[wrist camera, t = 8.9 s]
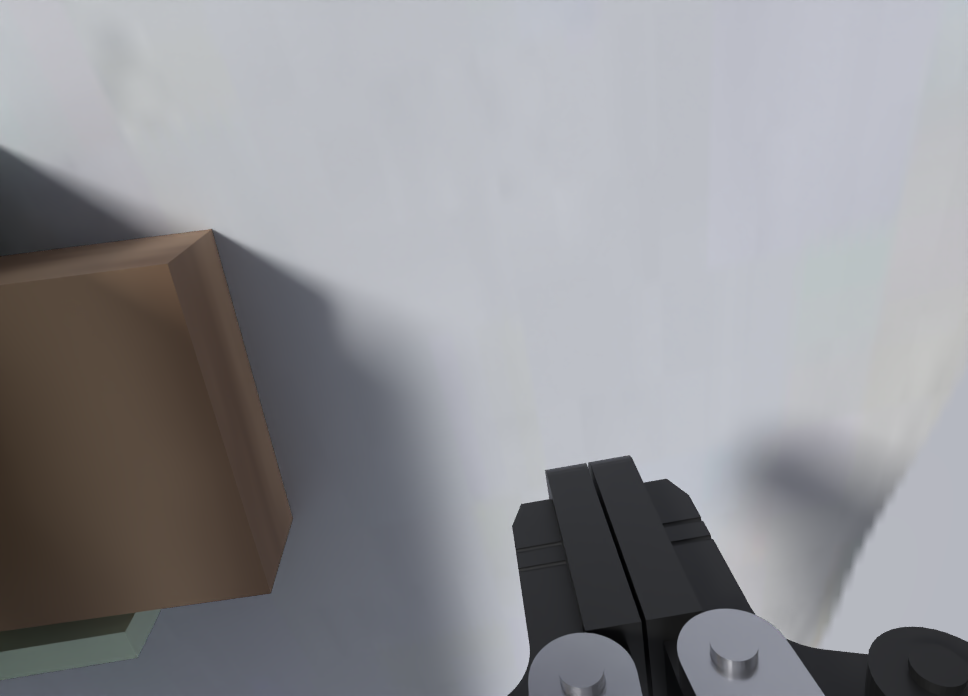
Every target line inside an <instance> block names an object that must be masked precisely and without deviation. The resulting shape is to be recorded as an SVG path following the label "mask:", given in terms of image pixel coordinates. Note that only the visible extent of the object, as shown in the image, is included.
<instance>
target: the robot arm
mask: <svg viewBox="0 0 968 696" xmlns="http://www.w3.org/2000/svg"><path fill="white" fill-rule="evenodd" d="M545 473H546V480H547V487H548V493H549V499H548V500H543V501H537V502H531V503H525V504H521V506H520V509H519V511H518V513H517V516H516V518H515V521H514V523H513V525H512V528H513V534H514V541H515V548H516V555H517V562H518V569H519V576H520V582H521V589H522V596H523V603H524V610H525V617H526V624H527V631H528V637H529V644H530V658H529V664H528V667H527V670H526V672H525V674H524V676H523V678H522V680H521V681H520V683H519V684H518V685H517V687H516V688H515V689H514V690H513V691H512V692H511V693H510V694H509V695H508V696H968V642H966V641H964V640H962V639H960V638H958V637H955V636H953V635H950V634H948V633H945V632H941V631H938V630H934V629H928V628H923V627H902V628H896V629H892V630H890V631H887V632H885V633H883V634H881V635H880V636H879V637H877V638H876V640H875V641H874V642H873V643H872V645H871V647H870V649H869V654H859V653H850V652H841V651H832V650H823V649H817V648H811V647H808V646H804V645H800V644H798V643H795V642H793V641H790V640H788V639H786V638H785V637H784V636H783V634H782V633H781V632H780V631H779V630H778V629H777V628H776V627H775V626H773V625H772V624H771V623H769V622H768V621H766V620H765V619H763V618H761V617H759V616H757V615H755V613H754V612H753V610H752V609H751V607H750V605H749V604H748V602H747V600H746V598H745V596H744V595H743V593H742V591H741V589H740V587H739V585H738V584H737V582H736V580H735V578H734V576H733V575H732V573H731V571H730V569H729V567H728V565H727V564H726V562H725V560H724V558H723V556H722V555H721V553H720V551H719V549H718V547H717V546H716V544H715V542H714V540H713V539H711V535H710V533H709V531H708V529H707V527H706V526H705V524H704V522H703V521H701V516H700V515H699V513H698V511H697V509H696V507H695V506H694V504H693V502H692V500H691V498H690V497H689V495H688V494H686V493H685V492H684V491H682V490H681V489H680V488H678V487H677V486H676V485H674V484H673V483H672V482H670V481H669V480H668V479H662V480H657V481H651V482H645V483H643V481H642V479H641V477H640V474H639V472H638V470H637V468H636V466H635V464H634V461H633V459H632V458H631V456H630V455H629V456H623V457H617V458H612V459H606V460H600V461H594V462H589V463H588V467H587V464H586V463H584V464H578V465H572V466H567V467H561V468H555V469H550V470H545Z"/></svg>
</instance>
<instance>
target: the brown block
mask: <svg viewBox="0 0 968 696" xmlns="http://www.w3.org/2000/svg"><path fill="white" fill-rule="evenodd" d="M292 520H293V517H292V514H291V510H290V507H289V503H288V499H287V496H286V492H285V489H284V485H283V482H282V478H281V474H280V471H279V467H278V464H277V460H276V457H275V453H274V449H273V446H272V442H271V439H270V435H269V432H268V428H267V424H266V421H265V417H264V414H263V410H262V407H261V403H260V400H259V396H258V392H257V389H256V385H255V382H254V378H253V375H252V371H251V367H250V364H249V360H248V357H247V353H246V350H245V346H244V342H243V339H242V335H241V332H240V328H239V325H238V321H237V317H236V314H235V310H234V307H233V303H232V300H231V296H230V292H229V289H228V285H227V282H226V278H225V275H224V271H223V267H222V264H221V260H220V257H219V253H218V250H217V246H216V242H215V239H214V235H213V232H212V229H209V230H201V231H193V232H186V233H178V234H170V235H162V236H154V237H146V238H138V239H131V240H123V241H115V242H107V243H99V244H91V245H84V246H76V247H68V248H60V249H52V250H44V251H36V252H29V253H21V254H13V255H5V256H0V632H1V631H8V630H15V629H22V628H29V627H36V626H43V625H51V624H58V623H65V622H72V621H79V620H86V619H93V618H100V617H107V616H114V615H121V614H128V613H135V612H143V611H150V610H157V609H164V608H171V607H178V606H185V605H192V604H199V603H206V602H213V601H220V600H227V599H235V598H242V597H249V596H256V595H263V594H270V593H271V591H272V588H273V584H274V581H275V577H276V574H277V571H278V567H279V564H280V561H281V557H282V554H283V550H284V547H285V544H286V540H287V537H288V534H289V530H290V527H291V523H292Z"/></svg>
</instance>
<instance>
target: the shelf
mask: <svg viewBox="0 0 968 696" xmlns="http://www.w3.org/2000/svg"><path fill="white" fill-rule="evenodd" d="M160 611H161V609H157V610H150V611H143V612H135V613H128V614H121V615H114V616H107V617H100V618H93V619H86V620H79V621H72V622H65V623H58V624H51V625H43V626H36V627H29V628H22V629H15V630H8V631H1V632H0V680H5V679H11V678H18V677H24V676H30V675H36V674H42V673H48V672H54V671H61V670H67V669H73V668H79V667H85V666H91V665H97V664H104V663H110V662H116V661H122V660H128V659H134V658H138V656H139V654H140V652H141V650H142V648H143V646H144V644H145V642H146V640H147V638H148V636H149V634H150V632H151V630H152V628H153V626H154V623H155V621H156V619H157V617H158V615H159V613H160Z"/></svg>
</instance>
